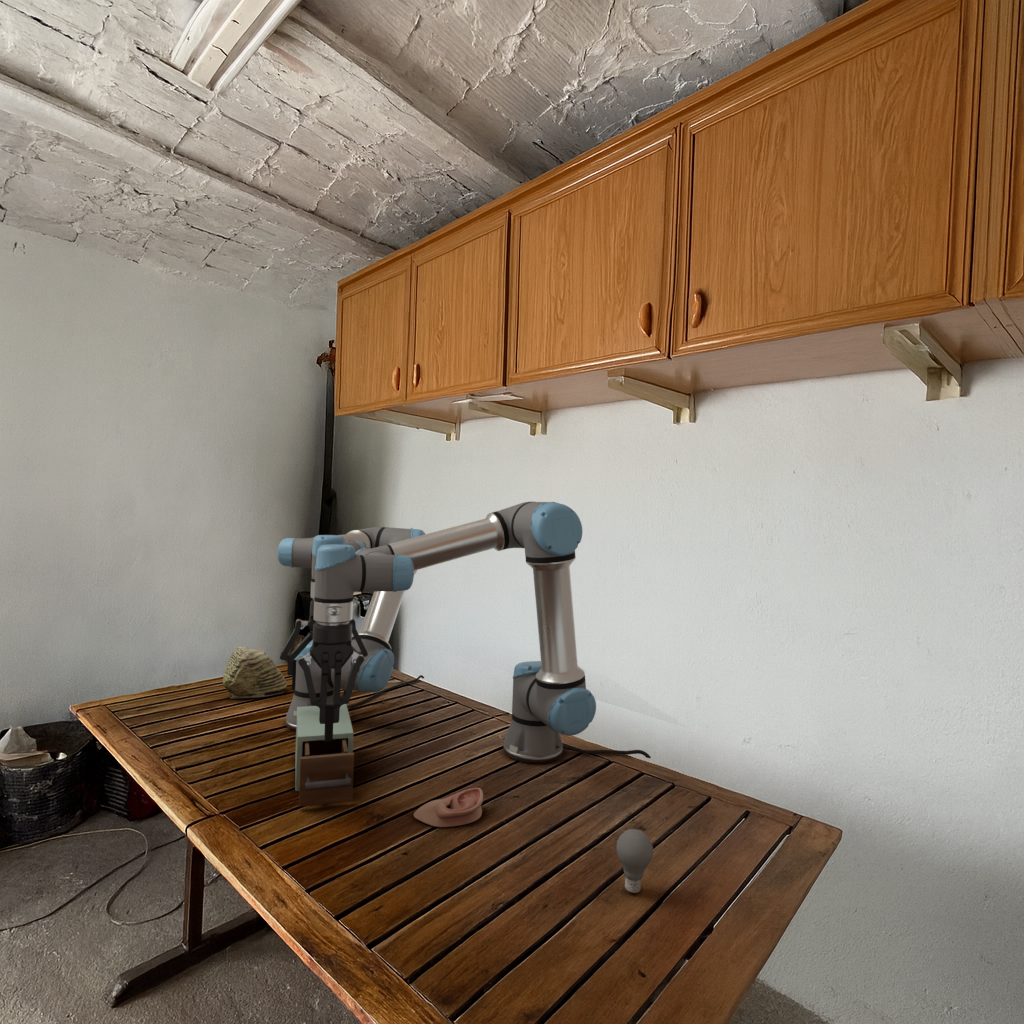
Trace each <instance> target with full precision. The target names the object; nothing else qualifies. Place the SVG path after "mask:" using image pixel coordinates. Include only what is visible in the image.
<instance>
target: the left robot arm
mask: <svg viewBox="0 0 1024 1024" xmlns="http://www.w3.org/2000/svg"><path fill="white" fill-rule="evenodd" d="M425 534H426V532H424V530H422V529H418V528H413V527H410V528H403V527H402V528H401V527H389V526H388V527H387V526H375V527H366V528H359V529H354V530H350V531H348V532H347V533H345V534H337V535H336V534H318V535H315V536H314V537H306V538H305V537H304V538H300V537H299V538H297V537H286V538H283V539H282V540H281V541H280V542H279V545H278V546H277V554H276V556H277V560H278V562H279V564H280V565H281V566H283V567H290V568H303V569H311V578H310V580H311V581H310V599H312V600H311V601H310V602H309V603H310V604H309V618H308V620H302V619H301V618H297V619H296V620H295V626H294V629H293V630H292V631H291V634H290V636H289V638H288V639H287V642H286V643H285V645H284V647H283V649H282V650H281V652H280V654H279V659H280V660H281V661H286V663H287V676H292V677H291V691H293V695H292V696H293V697H292V699H291V702H290V704H289V708H288V711H287V713H286V715H285V726H286V728H287V729H289V730H291V731H294V732H296V724H297V707H305V706H312V705H311V702H310V698H309V693H308V689H307V684H306V680H305V675H304V671H303V669H302V668H301V666H300V665H299V663H298V658H299V657H300V656H304V655H306V654H307V653H309V652H310V648H311V646H312V643H313V625H314V623H316V621H315V620H314V598H315V597H314V596H315V566H316V557H317V550H318V548H319V547H320V546H322V545H328V544H339V545H351V546H354V548H355V552H357V551H358V550H360V549H363V548H376V547H380V546H384V545H388V544H391V543H395V542H399V541H402V540H406V539H410V538H414V537H417V536H421V535H425ZM417 572H418V570H415V571H414V576H415V575H416V574H417ZM405 592H406V590H405V591H396V592H394V591H373V594H372V597H371V599H370V602H369V605H368V607H367V610H366V613H365V616H364V619H363V621H362V624H361V627H360V630H359V632H358V630H357V625H356V620H355V618H354V617H352V620H351V621H349V622H351V624H352V646H353V648H354V651H355V652H357V653H358V654H362V655H363V657H364V662H363V663H362V664H361V666H360V667H359V669H358V673H357V676H356V680H355V683H354V687H353V690H352V691H354V692H360V693H374V694H373V695H370V696H369V697H367V698H365V699H362V700H360V701H357V702H354V703H352V704H347V708H348V709H349V708H353V707H357V706H358V705H361V704H364V703H366V702H368V701H370V700H372V699H374V698H376V697H378V696H379V695H381V694H383V693H386V692H388V691H389V690H393V689H396V688H399V687H402V686H405V685H409V684H412V683H415V682H417V681H419V680H420V679H425V676H424V675H422V674H420V675H418V676H417V677H416V678H415V679H412V680H409V681H405V682H402V683H397V684H394V685H392V686H389V687H386V686H387V685H388V684H389V681H390V680H391V678H392V675H393V673H394V665H395V655H394V653H393V651H392V646H391V644H390V643H389V641H390V638H391V635H392V631H393V629H394V625H395V623H396V619H397V617H398V614H399V611H400V608H401V605H402V602H403V599H404V595H405ZM306 626H307V627H308V629H309V630H310V632H308V633H307V635H306V636H305V637H304V638H303V639H302V640H301V641H300V642H299V643H298V644H297V645H296V647H295V648H294V649H293V651H291V652H290V650H291V648H292V647H293V646H294V643H295V642H296V639H297V638H298V636H299V634H300V632H301V630H305V627H306ZM289 652H290V654H289ZM351 659H352V656H351V657H350V658H349V659H348V661H347V662H346V663H345V665H344V666H343V667H342V669H341V690H345V686H346V683H347V679H348V676H349V672H350V669H351V665H352V661H351ZM309 666H310V670H311V675H312V679H313V684H314V688H315V693H316V697H317V698H319V699H320V684H321V668H320V667H319V666H318V665H317V663H316V662H315V661H314V659H313V658H311V664H310V665H309ZM333 690H334V669H332V668H331V669H328V681H327V705H332V704H333Z"/></svg>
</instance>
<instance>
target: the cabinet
mask: <svg viewBox="0 0 1024 1024" xmlns="http://www.w3.org/2000/svg"><path fill="white" fill-rule="evenodd" d="M347 705H348V704H344V705H341V707H340V712H339V722H338V723H333V739H341V738H346V743H347V748H348V753H351V752H354V730H353V725H352V721H351V716H350V714H349V708H347ZM319 711H320V708H319V707H317V706H305V707H297V724H296V731H295V752H294V757H295V758H294V759H295V761H294V764H295V765H294V766H295V771H294V772H295V773H294V774H295V777H294V779H295V784H294V786H295V789H294V790H295V792H299V787H300V761H301V757H303V753H304V741H316V740H325V738H324V732H325V724H320V722H319Z"/></svg>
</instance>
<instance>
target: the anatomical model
mask: <svg viewBox="0 0 1024 1024" xmlns="http://www.w3.org/2000/svg"><path fill="white" fill-rule="evenodd" d="M483 802H484V792H483V790H482V788H480V787H471V788H467V789H464V790H461V791H458V792H456V793H454V794H451V795H449V796H446V797H444V798H441V799H440V798H439V799H434V800H430V801H429V802H427V803H424V804H423V805H421V806H419V808H418V809H417V810H415V811H414V813H413V817H414V818H415V819H416V820H417V821H419V822H422V823H424V824H426V825H428V826H432V827H434V828H435V827H436V828H449V827H450V828H451V827H457V826H464V825H467V824H471V823H474V822H475V821H477V820H479V819H480V818H481V817H482V814H483V809H482V805H483Z"/></svg>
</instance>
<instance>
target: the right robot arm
mask: <svg viewBox="0 0 1024 1024" xmlns="http://www.w3.org/2000/svg"><path fill="white" fill-rule="evenodd" d="M582 538H583V525H582V521H581V519H580V517H579V515H578V513H577V512H575V510H573V509H572V508H571V507H570V506H568V505H566V504H563V503H559V502H555V501H525V502H521V503H518V504H515V505H512V506H508V507H506V508H503V509H500V510H496V511H492V512H489V513H487V515H486V516H485V518H482V519H478V520H475V521H471V522H466V523H463V524H460V525H455V526H451V527H449V528H444V529H441V530H437V531H432V532H429V533H425V535H421V536H417V537H414V538H410V539H406V540H402V541H399V542H395V543H391V544H388V545H384V546H380V547H376V548H363V549H360V550H358V551H357V552H355V548H354V546H351V545H339V544H328V545H322V546H320V547H319V548H318V550H317V557H316V566H315V596H314V597H315V598H314V620H315V621H316V623H314V625H313V643H312V646H311V648H310V652H309V653H307V654H306V655H304V656H300V657H299V658H298V663H299V665H300V666H301V668H302V669H303V671H304V675H305V680H306V684H307V689H308V693H309V698H310V702H311V705H312V706H317V707H319V708H320V711H319V722H320V724H325V732H324V738H325V742H329V741H333V723H338V722H339V712H340V707H341V705H344V704H347V705H349V703H350V702H351V697H352V692H353V691H354V690H353V687H354V683H355V680H356V676H357V673H358V669H359V667H360V666H361V664H362V663H363V662H364V657H363V655H362V654H358V653H357V652H355V651H354V648H353V646H352V636H353V634H352V624H351V622H349V621H351V620H352V618H353V613H354V612H353V610H354V593H362V592H368V593H369V592H374V591H394V592H396V591H405V592H406V591H409V590H410V589H411V587H412V586H413V583H414V579H415V578H414V577H415V575H414V571H415V570H417V571H419V570H422V569H426V568H429V567H433V566H436V565H440V564H443V563H446V562H451V561H454V560H457V559H460V558H464V557H468V556H471V555H475V554H479V553H482V552H486V551H489V550H492V549H494V550H496V552H501V551H505V550H509V549H524V556H525V563H526V564H527V565H528V566H529V567H531V569H532V575H533V584H534V597H535V607H536V608H535V609H536V610H535V611H536V619H537V620H536V621H537V630H538V631H537V632H538V642H539V643H538V644H539V655H540V656H539V657H540V660H530V661H523V662H522V661H521V662H519V663H517V664H515V666H514V668H513V674H512V703H511V721H510V724H509V726H508V730H507V732H506V735H505V738H504V741H503V744H502V745H503V747H502V751H503V753H504V755H505V756H506V757H508V758H510V759H512V760H515V761H516V762H521V763H527V764H548V763H553V762H555V761H557V760H559V759H561V758H562V757H563V755H564V754H563V752H564V750H568V751H572V752H576V753H579V754H585V755H598V754H599V755H604V754H605V755H621V756H622V755H623V756H628V755H629V756H630V755H638V754H639V755H642V756H644V757H645V758H647V759H651V758H652V757H651V755H650V754H649V753H648V752H646V751H645V750H641V749H632V750H630V749H629V750H616V749H613V750H612V749H582V748H579V747H575V746H570V745H566V744H563V741H562V738H561V735H563V736H566V737H570V736H571V737H572V736H576V735H578V734H581V733H583V732H584V731H585V730H586V729H587V728H588V727H589V726H590V723H592V722H593V720H594V718H595V715H596V712H597V701H596V698H595V696H594V694H593V693H592V692H591V690H589V689H588V688H587V684H586V673H585V670H584V669H583V668H581V666H579V664H578V653H577V640H576V628H575V627H576V626H575V616H574V615H575V613H574V605H573V602H574V601H573V590H572V579H571V578H572V577H571V566H572V564H573V563H574V561H575V560H576V550H577V548H578V547H579V545H580V544H581V541H582ZM351 656H352V659H351V661H352V665H351V669H350V672H349V676H348V679H347V683H346V686H345V689H343V693H342V696H341V692H342V691H341V690H342V689H341V669H342V667H343V666H344V665H345V663H346V662H347V661H348V659H349V658H350V657H351ZM311 658H313V659H314V661H315V662H316V663H317V665H318V666H319V667H320V668H321V684H320V699H319V698H317V697H316V693H315V688H314V684H313V679H312V675H311V670H310V666H309V665H310V664H311ZM331 668H332V669H334V690H333V704H332V705H327V681H328V669H331Z"/></svg>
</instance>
